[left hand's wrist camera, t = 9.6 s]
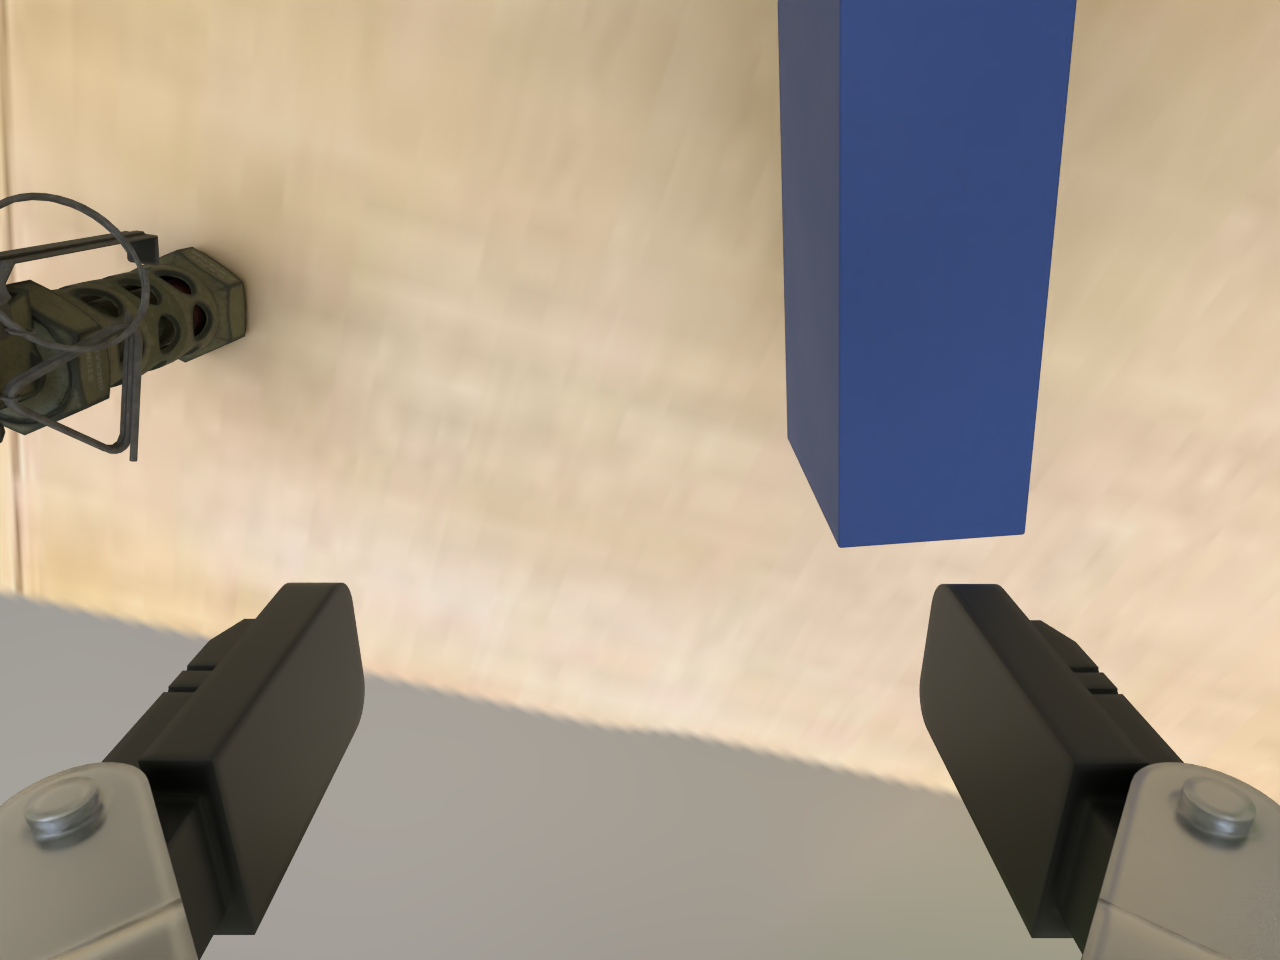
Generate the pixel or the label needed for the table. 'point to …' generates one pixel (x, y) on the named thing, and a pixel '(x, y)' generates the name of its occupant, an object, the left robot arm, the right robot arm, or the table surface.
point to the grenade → (106, 328)
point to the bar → (919, 255)
